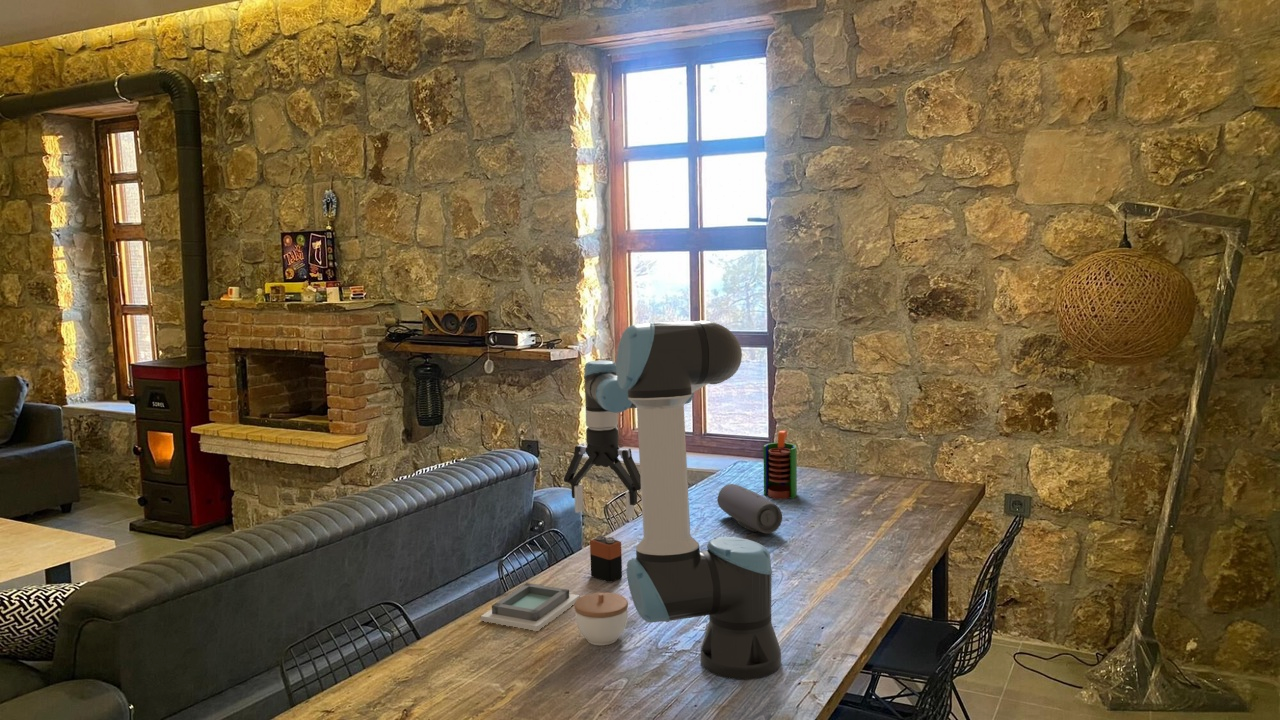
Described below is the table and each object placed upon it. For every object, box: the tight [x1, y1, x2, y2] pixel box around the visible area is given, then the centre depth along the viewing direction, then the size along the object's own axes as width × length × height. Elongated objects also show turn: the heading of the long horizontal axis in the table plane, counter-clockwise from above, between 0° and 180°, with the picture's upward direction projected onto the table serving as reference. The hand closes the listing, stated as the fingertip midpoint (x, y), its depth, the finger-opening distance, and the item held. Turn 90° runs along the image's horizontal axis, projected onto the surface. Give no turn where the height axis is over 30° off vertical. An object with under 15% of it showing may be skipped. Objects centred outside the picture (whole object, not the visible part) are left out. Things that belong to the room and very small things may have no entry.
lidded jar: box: [573, 592, 629, 647], centre depth 184 cm, size 11×11×9 cm
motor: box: [762, 430, 798, 500], centre depth 285 cm, size 10×9×20 cm
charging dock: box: [480, 582, 580, 632], centre depth 199 cm, size 18×14×3 cm
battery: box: [589, 534, 623, 583], centre depth 218 cm, size 4×7×10 cm, turn 47°
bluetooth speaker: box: [717, 483, 783, 534], centre depth 255 cm, size 23×9×10 cm, turn 22°
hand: (604, 514), depth 217 cm, fingers open, 13 cm apart
